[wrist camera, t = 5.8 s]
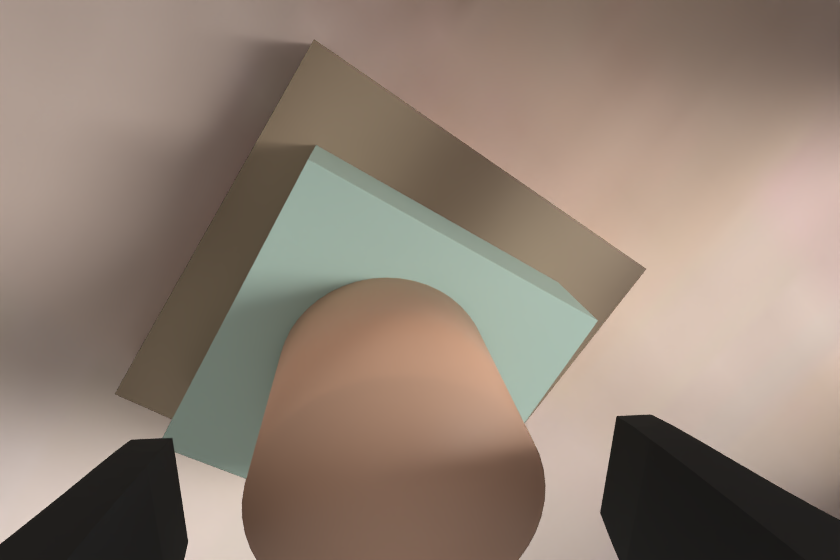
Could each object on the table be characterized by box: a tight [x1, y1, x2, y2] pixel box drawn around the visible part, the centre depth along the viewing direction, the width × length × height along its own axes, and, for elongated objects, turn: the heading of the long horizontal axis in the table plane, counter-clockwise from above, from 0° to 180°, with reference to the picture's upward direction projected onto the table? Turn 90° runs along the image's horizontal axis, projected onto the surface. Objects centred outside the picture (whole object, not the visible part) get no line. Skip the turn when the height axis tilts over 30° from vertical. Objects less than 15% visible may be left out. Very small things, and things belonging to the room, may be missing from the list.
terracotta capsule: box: [242, 278, 545, 560], centre depth 10 cm, size 4×4×4 cm
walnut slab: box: [115, 40, 646, 424], centre depth 16 cm, size 10×10×2 cm
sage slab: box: [163, 145, 598, 479], centre depth 13 cm, size 7×7×2 cm
